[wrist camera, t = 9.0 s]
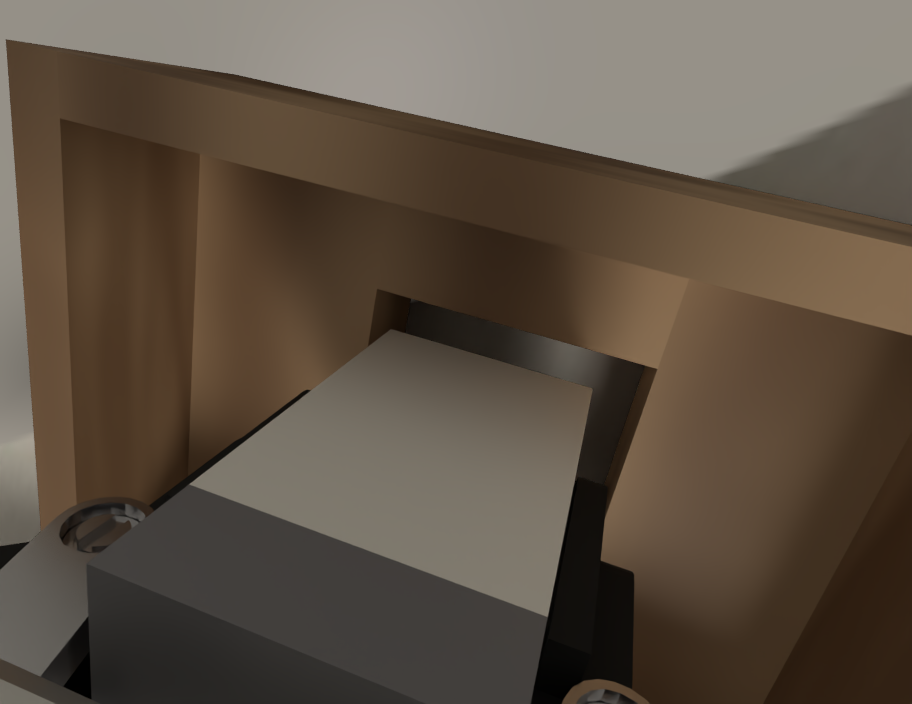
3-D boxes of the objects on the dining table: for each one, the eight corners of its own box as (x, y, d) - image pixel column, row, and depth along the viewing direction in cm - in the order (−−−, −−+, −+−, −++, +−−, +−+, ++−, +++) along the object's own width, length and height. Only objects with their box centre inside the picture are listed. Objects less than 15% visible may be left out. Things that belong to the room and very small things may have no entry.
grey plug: (593, 388, 12) (522, 744, 5) (539, 559, 14) (429, 1010, 7) (391, 329, 13) (86, 563, 6) (363, 497, 15) (97, 840, 8)
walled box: (998, 244, 12) (1288, 333, 7) (749, 709, 17) (796, 981, 11) (234, 74, 15) (6, 39, 10) (210, 503, 20) (48, 638, 15)
